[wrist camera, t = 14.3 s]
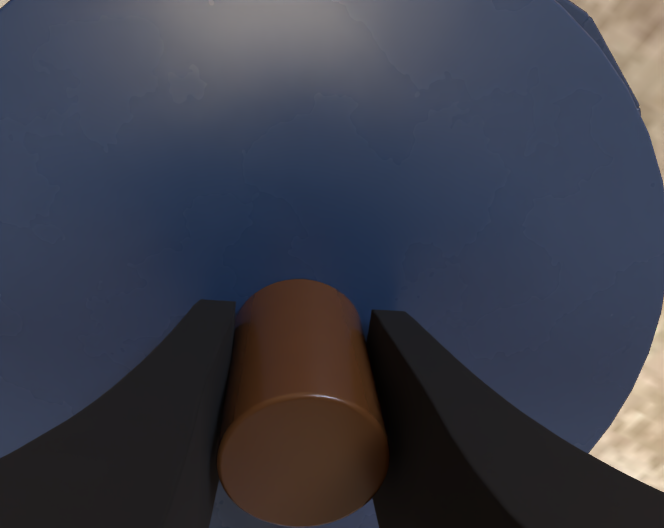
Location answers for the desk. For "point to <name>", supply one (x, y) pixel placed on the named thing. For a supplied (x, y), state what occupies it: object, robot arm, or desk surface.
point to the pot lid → (320, 219)
